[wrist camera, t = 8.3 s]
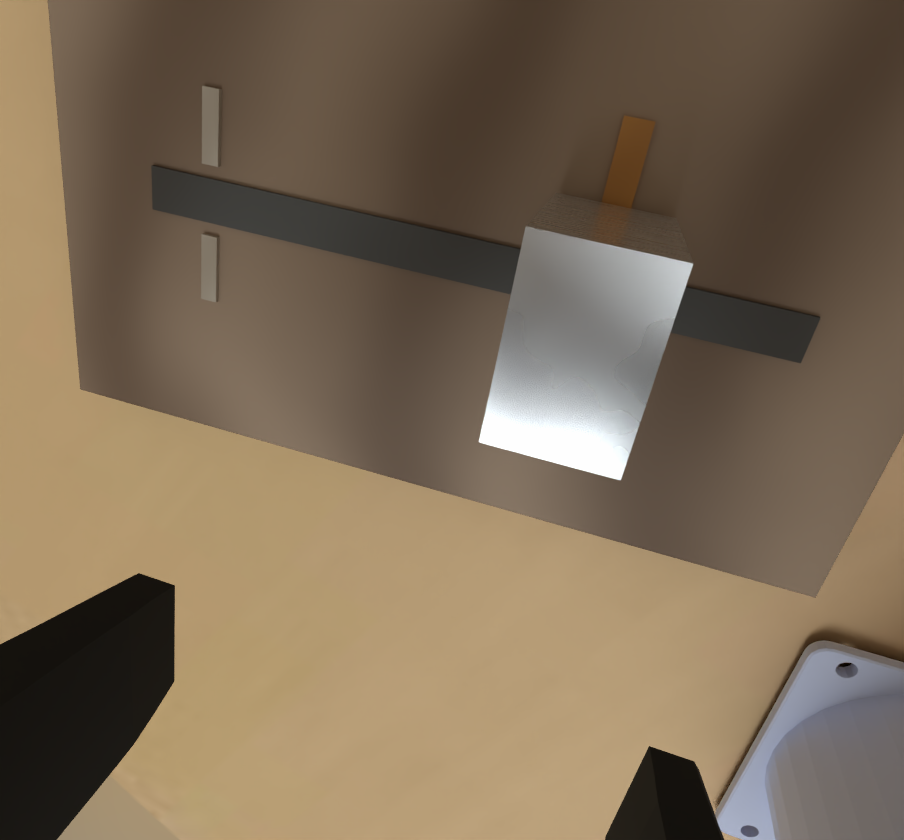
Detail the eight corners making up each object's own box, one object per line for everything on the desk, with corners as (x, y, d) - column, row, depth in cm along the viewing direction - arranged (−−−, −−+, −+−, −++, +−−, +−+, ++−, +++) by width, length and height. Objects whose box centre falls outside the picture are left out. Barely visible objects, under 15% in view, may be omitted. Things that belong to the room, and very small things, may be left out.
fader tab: (676, 218, 13) (693, 263, 9) (624, 384, 15) (620, 480, 11) (556, 192, 14) (525, 226, 10) (518, 357, 15) (478, 442, 11)
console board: (1068, 37, 12) (1126, 27, 11) (802, 560, 18) (816, 601, 16) (88, -124, 15) (31, -148, 14) (116, 370, 20) (77, 390, 19)
